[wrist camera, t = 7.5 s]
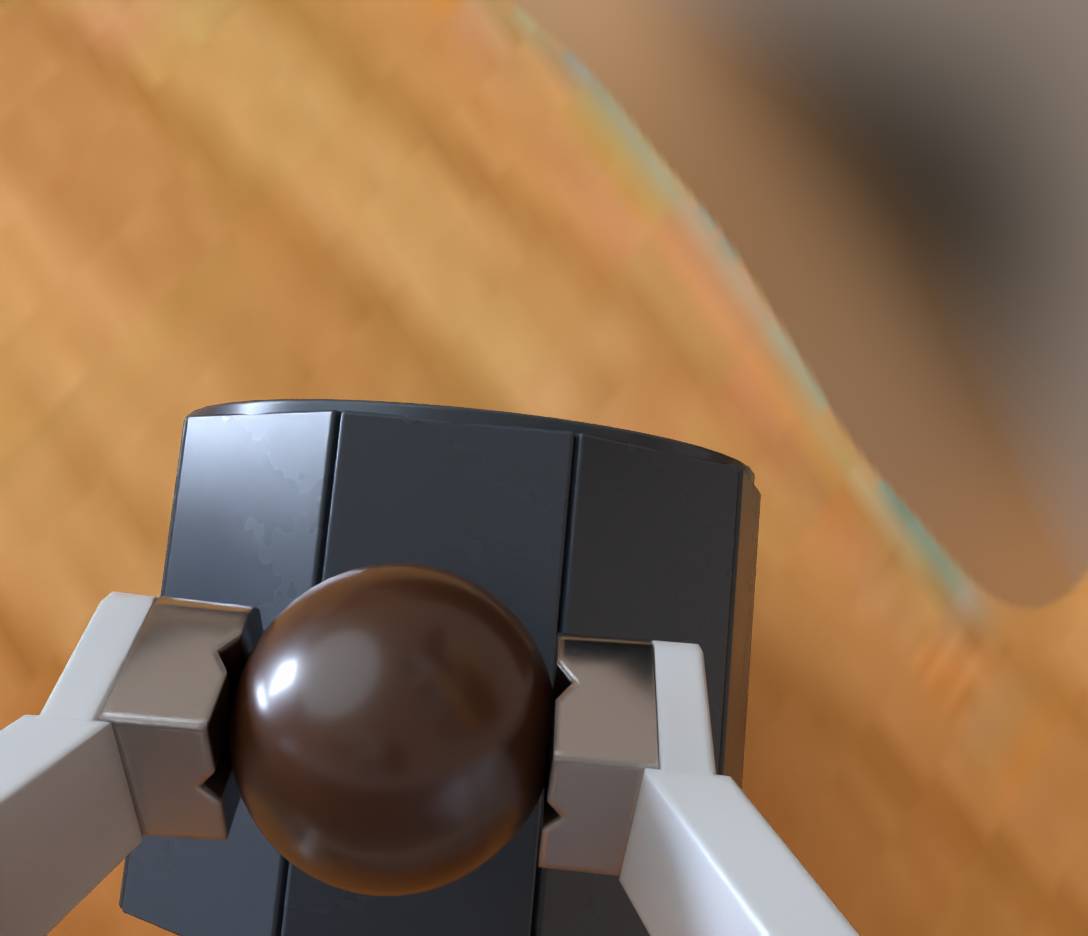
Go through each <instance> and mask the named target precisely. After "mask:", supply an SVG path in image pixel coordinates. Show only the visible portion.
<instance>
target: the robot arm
mask: <svg viewBox="0 0 1088 936" xmlns="http://www.w3.org/2000/svg"><path fill="white" fill-rule="evenodd" d="M262 634H263V626H262V620H261V614H260V609H258V608H256V607H252V606H243V605H235V604H226V603H217V602H208V601H199V600H191V599H182V598H173V597H164V596H160V597H158V596H149V595H140V594H131V593H122V592H113V591H112V592H111V593H110V594H109V595H108V596H107V597H106V598H105V599H104V600H102V601H101V602H100V603H99V605H98V607H97V609H96V611H95V613H94V615H93V617H92V618H91V620H90V622H89V624H88V626H87V628H86V630H85V631H84V633H83V635H82V637H81V639H80V641H79V643H78V645H77V646H76V648H75V650H74V652H73V654H72V656H71V658H70V659H69V661H68V663H67V665H66V667H65V669H64V671H63V673H62V674H61V676H60V678H59V680H58V682H57V684H56V686H55V687H54V689H53V691H52V693H51V695H50V697H49V699H48V701H47V702H46V704H45V706H44V708H43V710H42V712H41V714H40V715H23V716H22V717H20V718H19V719H17V720H16V721H14V722H13V723H11V724H10V725H8V726H7V727H5V728H4V729H2V730H1V731H0V936H46V935H47V934H48V933H49V932H50V931H51V930H52V929H53V928H54V927H55V926H56V925H57V924H58V923H59V922H60V921H61V920H62V919H63V918H64V917H65V916H66V915H67V914H68V913H69V912H70V911H71V910H72V909H73V908H74V907H75V906H76V905H77V904H78V903H79V902H80V901H81V900H82V899H84V898H85V897H86V896H87V895H88V894H89V893H90V892H91V891H92V890H93V889H94V888H95V887H96V886H97V885H98V884H99V883H100V882H101V881H102V880H103V879H104V878H105V877H106V876H107V875H108V874H109V873H110V872H111V871H112V870H113V869H114V868H115V867H116V866H117V865H118V864H119V863H120V862H121V861H122V860H123V859H125V858H126V857H127V856H128V855H129V854H130V853H131V852H132V851H133V850H134V849H135V848H136V847H137V846H138V845H139V844H140V843H141V842H142V841H143V838H142V835H144V836H162V837H179V838H196V839H213V840H227V838H228V835H229V832H230V829H231V825H232V822H233V819H234V816H235V813H236V810H237V807H238V804H239V801H240V798H241V795H240V792H239V789H238V786H237V783H236V780H235V777H234V772H233V767H232V762H231V755H230V741H229V731H230V721H231V712H232V706H233V699H234V693H235V690H236V687H237V684H238V681H239V678H240V675H241V672H242V670H243V668H244V666H245V664H246V661H247V659H248V657H249V655H250V653H251V651H252V649H253V648H254V646H255V645H256V643H257V642H258V640H259V638H260V637H261V635H262ZM552 688H553V696H554V702H555V708H554V715H553V722H552V728H551V738H550V749H549V764H548V778H547V782H546V784H545V787H544V789H543V796H542V804H541V816H540V840H539V863H538V867H543V868H551V869H560V870H569V871H578V872H587V873H596V874H605V875H614V876H620V878H619V881H620V883H621V885H622V886H623V888H624V890H625V892H626V893H627V895H628V897H629V899H630V901H631V902H632V904H633V906H634V908H635V909H636V911H637V913H638V915H639V917H640V918H641V920H642V922H643V924H644V926H645V927H646V929H647V931H648V933H649V934H650V936H859V934H858V933H857V932H856V931H855V929H854V928H853V927H852V926H851V924H850V923H849V922H848V921H847V920H846V918H845V917H844V916H843V915H842V913H841V912H840V911H839V910H838V908H837V907H836V906H835V905H834V903H833V902H832V901H831V900H830V899H829V897H828V896H827V895H826V894H825V892H824V891H823V890H822V889H821V887H820V886H819V885H818V884H817V882H816V881H815V880H814V879H813V878H812V876H811V875H810V874H809V873H808V871H807V870H806V869H805V868H804V866H803V865H802V864H801V863H800V861H799V860H798V859H797V858H796V857H795V855H794V854H793V853H792V852H791V850H790V849H789V848H788V847H787V845H786V844H785V843H784V842H783V840H782V839H781V838H780V837H779V836H778V834H777V833H776V832H775V831H774V829H773V828H772V827H771V826H770V824H769V823H768V822H767V821H766V819H765V818H764V817H763V816H762V815H761V813H760V812H759V811H758V810H757V808H756V807H755V806H754V805H753V803H752V802H751V801H750V800H749V798H748V797H747V796H746V795H745V794H744V792H743V791H742V790H741V789H740V787H739V786H738V785H737V784H736V782H735V781H734V780H733V779H732V777H731V776H724V775H716V768H715V759H714V749H713V740H712V730H711V721H710V712H709V702H708V693H707V683H706V674H705V664H704V655H703V651H702V649H701V647H700V646H699V644H691V643H679V642H667V641H655V640H652V641H651V642H650V640H646V639H633V638H621V637H608V636H595V635H582V634H569V633H558V634H557V639H556V646H555V653H554V664H553V682H552Z"/></svg>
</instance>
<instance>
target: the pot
mask: <svg viewBox="0 0 1088 936" xmlns="http://www.w3.org/2000/svg"><path fill="white" fill-rule="evenodd" d="M754 478H755V475H754V473H753V471H752V470H751V469H750V467H748V466H747V465H745V464H743V463H742V462H740V461H738V460H736V459H734V458H731V457H729V456H726V455H724V454H722V453H719V452H716V451H712V450H709V449H706V448H703V447H700V446H696V445H692V444H688V443H684V442H681V441H677V440H673V439H669V438H664V437H659V436H655V435H650V434H645V433H641V432H636V431H630V430H625V429H619V428H614V427H608V426H602V425H597V424H590V423H584V422H577V421H571V420H564V419H557V418H550V417H543V416H535V415H527V414H519V413H511V412H502V411H493V410H483V409H474V408H464V407H453V406H441V405H429V404H416V403H401V402H384V401H366V400H334V399H277V400H253V401H242V402H231V403H224V404H218V405H212V406H207V407H204V408H201V409H198V410H195V411H193V412H192V413H190V414H189V415H188V416H187V417H186V418H185V420H184V425H183V432H182V440H181V447H180V454H179V462H178V469H177V477H176V484H175V492H174V499H173V507H172V514H171V522H170V529H169V536H168V544H167V551H166V559H165V566H164V574H163V581H162V589H161V596H164V597H173V598H182V599H191V600H199V601H208V602H217V603H226V604H235V605H243V606H252V607H256V608H258V609H260V614H261V620H262V626H263V634H262V635H261V637H260V638H259V640H258V642H257V643H256V645H255V646H254V648H253V649H252V651H251V653H250V655H249V657H248V659H247V661H246V664H245V666H244V668H243V670H242V672H241V675H240V678H239V681H238V684H237V687H236V690H235V693H234V699H233V706H232V712H231V721H230V731H229V741H230V755H231V762H232V767H233V772H234V777H235V780H236V783H237V786H238V789H239V792H240V795H241V798H240V801H239V804H238V807H237V810H236V813H235V816H234V819H233V822H232V825H231V829H230V832H229V835H228V838H227V840H213V839H196V838H179V837H162V836H144V835H142V838H143V841H142V842H141V843H140V844H139V845H138V846H137V847H136V848H135V849H134V850H133V851H132V852H131V853H130V854H129V855H128V856H127V857H126V858H125V864H124V872H123V879H122V887H121V894H120V902H119V905H120V908H122V910H123V912H124V913H127V914H129V915H132V916H134V917H136V918H139V919H141V920H144V921H146V922H148V923H151V924H153V925H155V926H158V927H160V928H163V929H165V930H167V931H170V932H172V933H175V934H177V935H179V936H650V934H649V933H648V931H647V929H646V927H645V926H644V924H643V922H642V920H641V918H640V917H639V915H638V913H637V911H636V909H635V908H634V906H633V904H632V902H631V901H630V899H629V897H628V895H627V893H626V892H625V890H624V888H623V886H622V885H621V883H620V881H619V878H620V876H614V875H605V874H596V873H587V872H578V871H569V870H560V869H551V868H543V867H538V863H539V840H540V816H541V804H542V796H543V789H544V787H545V784H546V782H547V778H548V764H549V749H550V738H551V728H552V722H553V715H554V708H555V702H554V696H553V688H552V682H553V664H554V653H555V646H556V639H557V634H558V633H569V634H582V635H595V636H608V637H621V638H633V639H646V640H650V642H651V641H652V640H655V641H667V642H679V643H691V644H699V646H700V647H701V649H702V651H703V655H704V664H705V674H706V683H707V693H708V702H709V712H710V721H711V730H712V740H713V749H714V759H715V768H716V775H724V776H731V777H732V779H733V780H734V781H735V782H736V784H737V785H738V786H739V787H740V789H741V790H742V777H743V762H744V746H745V731H746V715H747V700H748V684H749V669H750V653H751V638H752V622H753V607H754V591H755V576H756V560H757V545H758V529H759V514H760V498H761V495H760V492H759V491H758V489H757V488H756V487H755V485H754Z"/></svg>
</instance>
